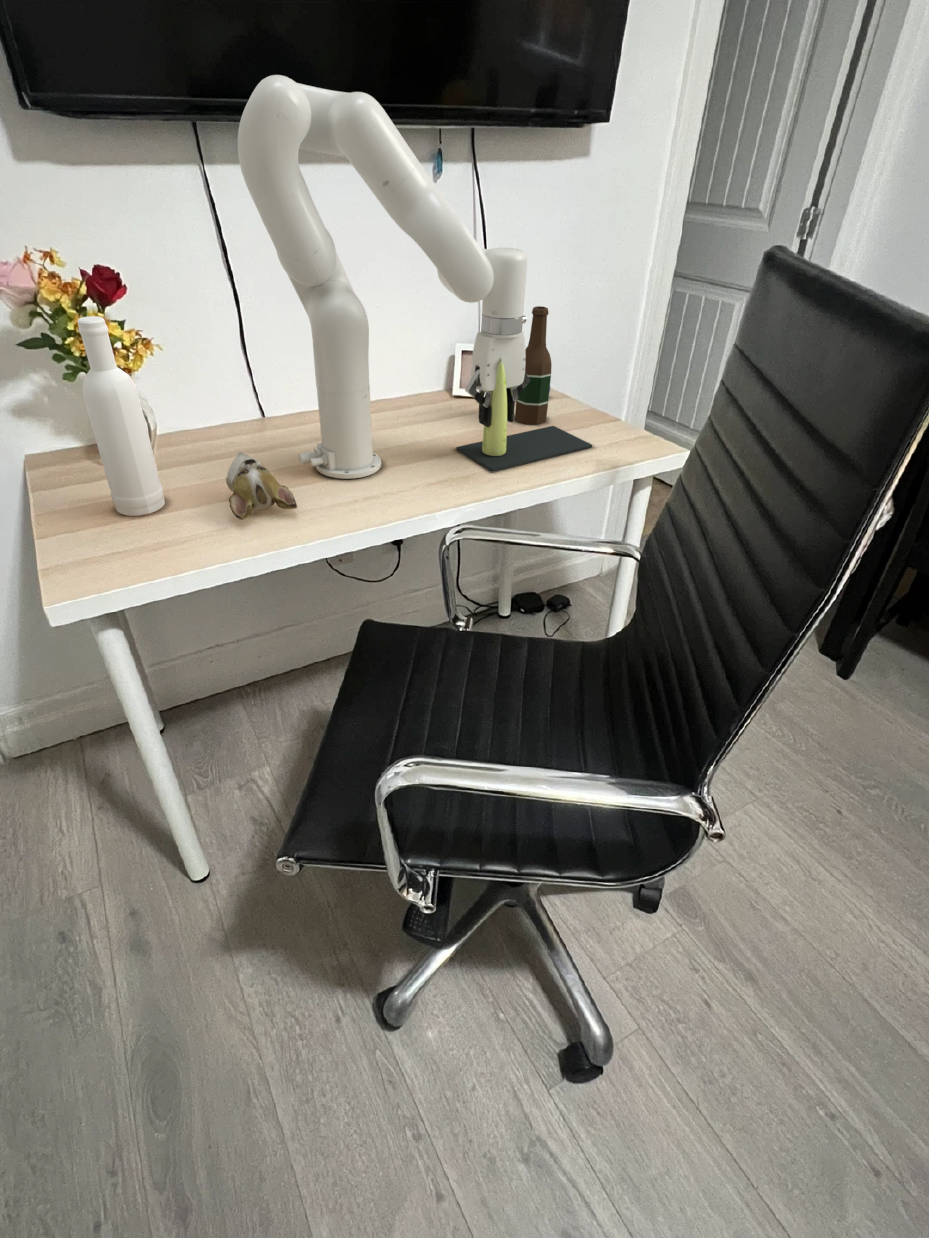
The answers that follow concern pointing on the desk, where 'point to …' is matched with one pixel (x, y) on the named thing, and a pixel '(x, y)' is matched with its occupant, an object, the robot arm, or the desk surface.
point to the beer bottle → (536, 373)
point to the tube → (497, 418)
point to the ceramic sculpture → (255, 488)
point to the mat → (527, 448)
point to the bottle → (118, 425)
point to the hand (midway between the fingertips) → (496, 421)
